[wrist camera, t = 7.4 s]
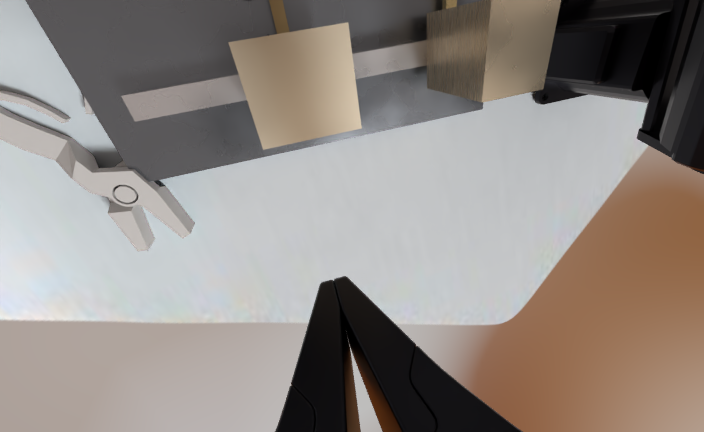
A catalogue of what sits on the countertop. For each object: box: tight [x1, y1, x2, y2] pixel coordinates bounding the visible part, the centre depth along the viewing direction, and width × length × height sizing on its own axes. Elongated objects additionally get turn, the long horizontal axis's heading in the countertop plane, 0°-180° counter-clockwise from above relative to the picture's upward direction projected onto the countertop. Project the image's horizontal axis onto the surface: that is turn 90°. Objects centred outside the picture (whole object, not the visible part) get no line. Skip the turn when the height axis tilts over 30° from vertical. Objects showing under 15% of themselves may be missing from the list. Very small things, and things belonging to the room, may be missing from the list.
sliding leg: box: [228, 0, 362, 150], centre depth 12 cm, size 4×7×6 cm, turn 9°
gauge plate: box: [26, 0, 561, 182], centre depth 13 cm, size 22×11×7 cm, turn 99°
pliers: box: [0, 90, 195, 251], centre depth 15 cm, size 10×2×15 cm
